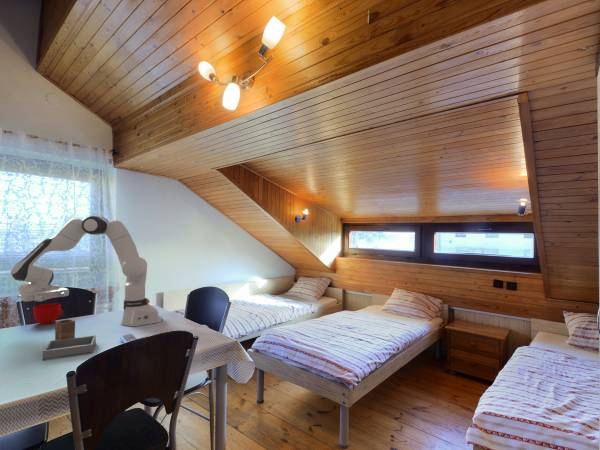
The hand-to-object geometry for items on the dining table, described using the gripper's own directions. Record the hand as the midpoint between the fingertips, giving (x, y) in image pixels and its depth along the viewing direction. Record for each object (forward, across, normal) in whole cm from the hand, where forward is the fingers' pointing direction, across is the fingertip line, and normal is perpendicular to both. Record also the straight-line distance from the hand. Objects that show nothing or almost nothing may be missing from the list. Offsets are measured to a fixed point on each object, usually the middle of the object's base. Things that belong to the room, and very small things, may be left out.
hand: (53, 296), depth 166 cm
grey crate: (+30, -5, +20) cm, 36 cm away
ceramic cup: (-29, +12, +22) cm, 38 cm away
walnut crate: (+13, 0, +21) cm, 24 cm away
